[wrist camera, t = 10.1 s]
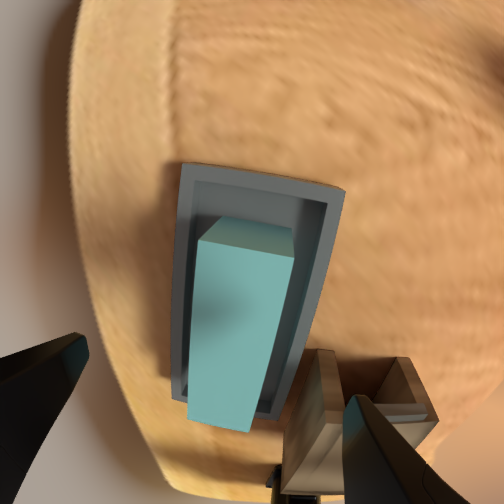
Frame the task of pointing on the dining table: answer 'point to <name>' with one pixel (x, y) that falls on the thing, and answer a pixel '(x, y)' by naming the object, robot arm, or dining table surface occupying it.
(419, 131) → the dining table surface
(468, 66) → the dining table surface
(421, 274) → the dining table surface
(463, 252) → the dining table surface
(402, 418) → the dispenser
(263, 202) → the tray
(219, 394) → the teal long block
